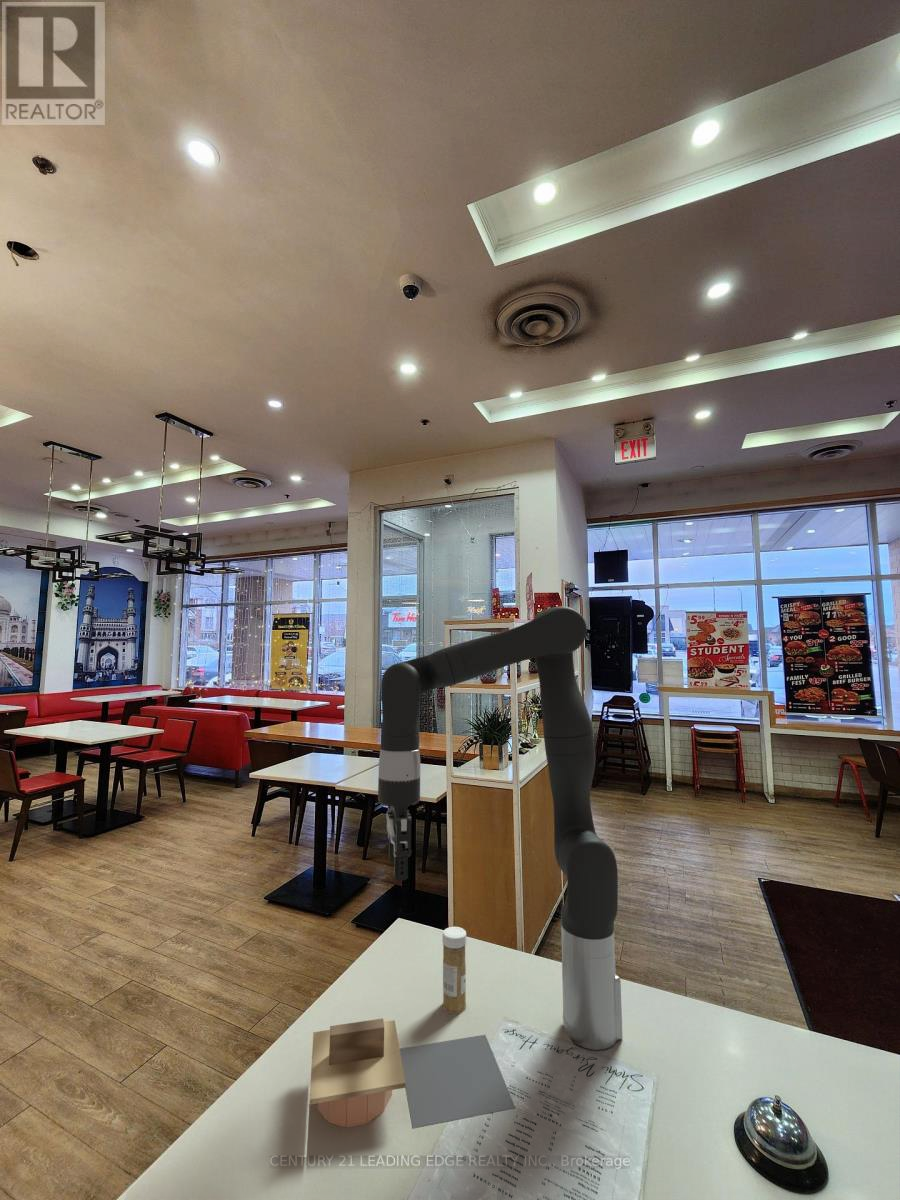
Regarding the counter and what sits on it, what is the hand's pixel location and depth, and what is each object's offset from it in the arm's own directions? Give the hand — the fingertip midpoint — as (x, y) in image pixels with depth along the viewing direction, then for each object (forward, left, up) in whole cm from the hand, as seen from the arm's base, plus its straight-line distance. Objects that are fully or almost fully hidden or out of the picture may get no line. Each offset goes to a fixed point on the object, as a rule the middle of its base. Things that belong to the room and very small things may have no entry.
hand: (397, 869), depth 89 cm
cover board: (+7, +9, -23) cm, 26 cm away
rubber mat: (-8, +9, -28) cm, 31 cm away
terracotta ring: (+7, +9, -28) cm, 30 cm away
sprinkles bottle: (-12, -7, -28) cm, 32 cm away
